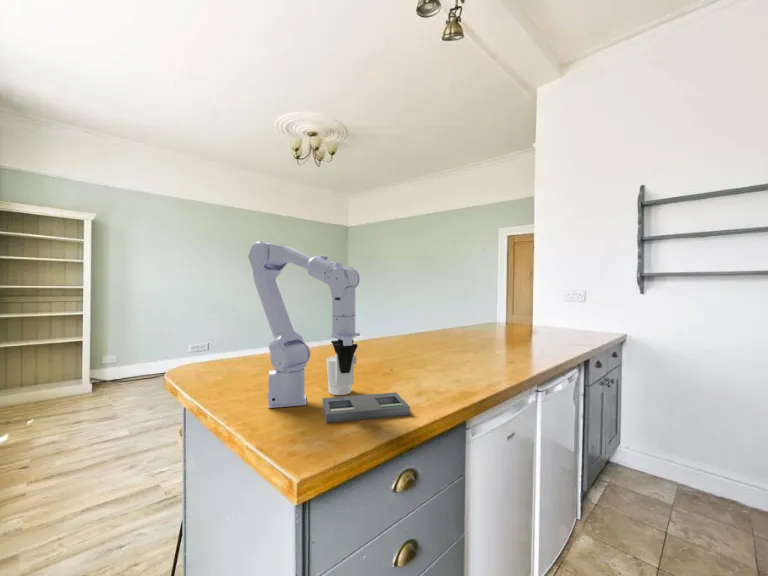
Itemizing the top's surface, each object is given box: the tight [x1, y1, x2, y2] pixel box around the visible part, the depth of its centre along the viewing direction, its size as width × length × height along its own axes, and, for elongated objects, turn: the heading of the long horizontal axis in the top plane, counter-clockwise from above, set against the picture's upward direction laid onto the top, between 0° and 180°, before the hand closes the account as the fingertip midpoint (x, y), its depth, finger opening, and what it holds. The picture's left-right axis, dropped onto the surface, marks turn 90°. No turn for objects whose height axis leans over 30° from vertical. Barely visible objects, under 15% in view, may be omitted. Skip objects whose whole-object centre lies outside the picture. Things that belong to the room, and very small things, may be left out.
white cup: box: [326, 355, 353, 396], centre depth 103 cm, size 8×8×10 cm
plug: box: [334, 353, 357, 385], centre depth 86 cm, size 5×4×7 cm
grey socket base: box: [321, 392, 411, 424], centre depth 87 cm, size 20×12×2 cm, turn 104°
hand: (344, 370), depth 86 cm, fingers closed on plug, 4 cm apart
